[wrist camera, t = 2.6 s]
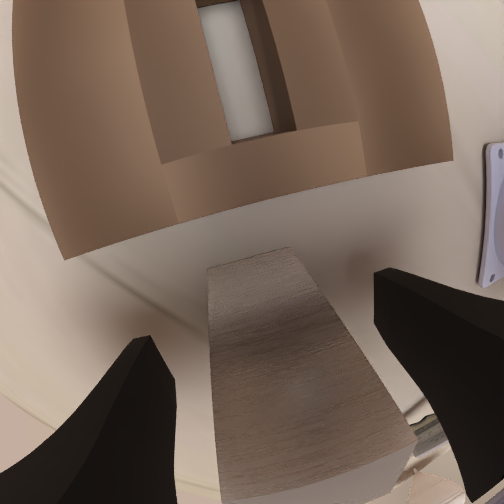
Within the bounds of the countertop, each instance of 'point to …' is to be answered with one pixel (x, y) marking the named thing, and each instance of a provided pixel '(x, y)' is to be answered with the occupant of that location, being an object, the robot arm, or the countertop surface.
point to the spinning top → (434, 490)
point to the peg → (295, 393)
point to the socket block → (214, 107)
